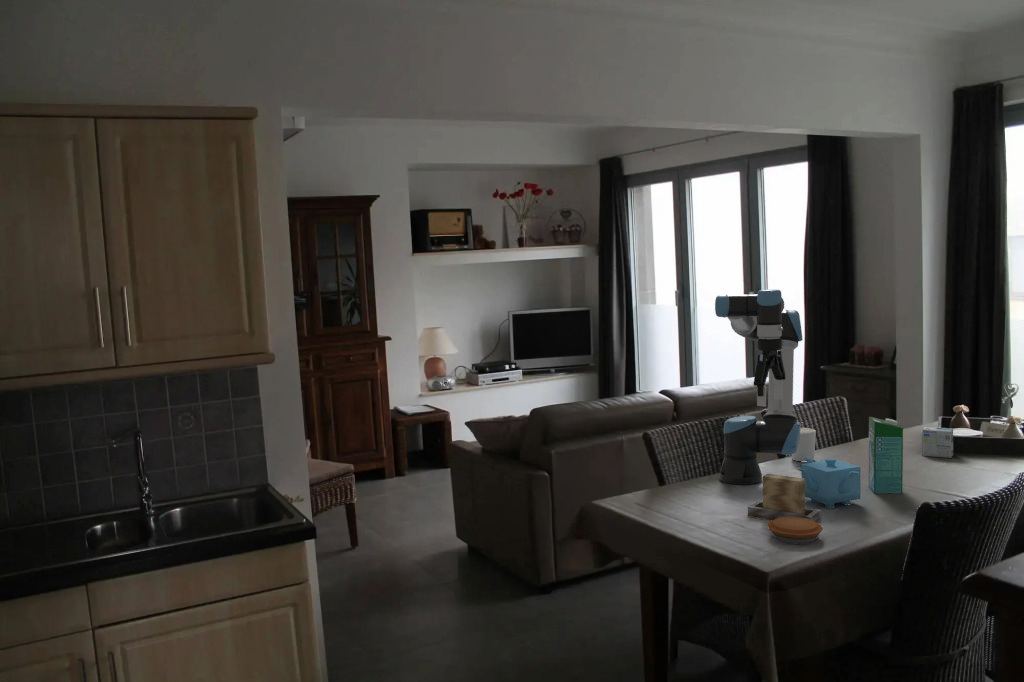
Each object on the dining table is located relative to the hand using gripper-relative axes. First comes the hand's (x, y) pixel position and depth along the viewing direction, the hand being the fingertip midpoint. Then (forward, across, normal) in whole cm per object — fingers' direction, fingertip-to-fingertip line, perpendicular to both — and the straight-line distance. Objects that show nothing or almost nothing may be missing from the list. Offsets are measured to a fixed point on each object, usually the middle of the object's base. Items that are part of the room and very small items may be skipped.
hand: (770, 402), depth 273 cm
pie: (+35, -25, -18) cm, 46 cm away
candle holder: (+35, +66, +14) cm, 76 cm away
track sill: (+35, -9, -8) cm, 37 cm away
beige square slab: (+34, -9, -8) cm, 36 cm away
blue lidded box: (+35, +14, -14) cm, 40 cm away
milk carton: (+35, +39, -25) cm, 58 cm away
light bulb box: (+35, +100, -28) cm, 109 cm away
